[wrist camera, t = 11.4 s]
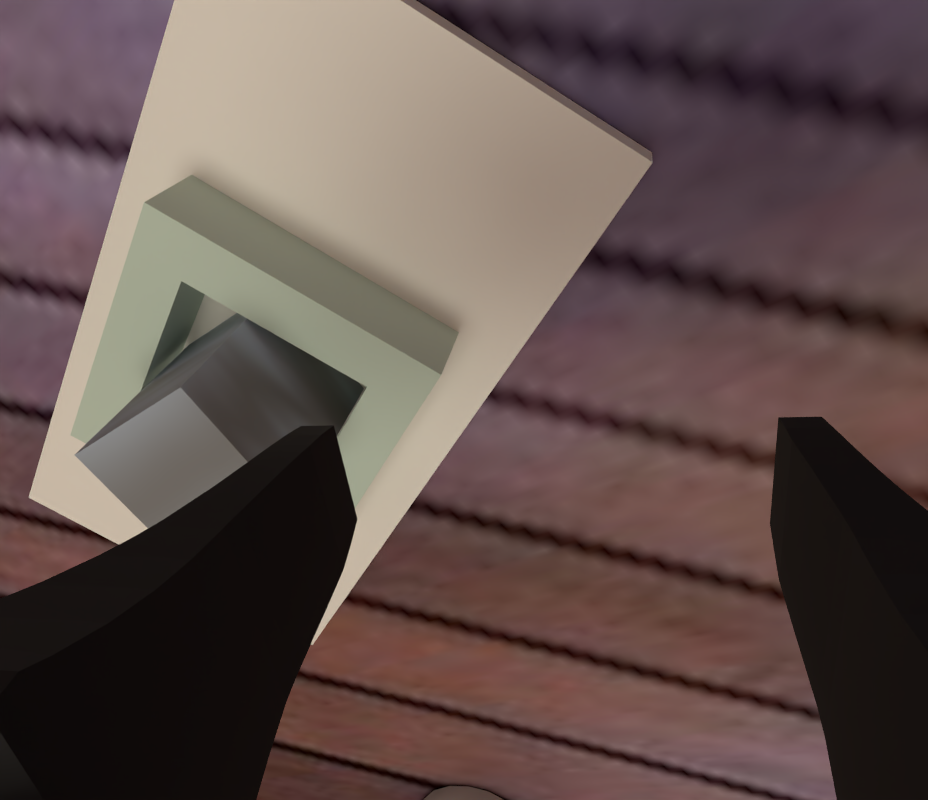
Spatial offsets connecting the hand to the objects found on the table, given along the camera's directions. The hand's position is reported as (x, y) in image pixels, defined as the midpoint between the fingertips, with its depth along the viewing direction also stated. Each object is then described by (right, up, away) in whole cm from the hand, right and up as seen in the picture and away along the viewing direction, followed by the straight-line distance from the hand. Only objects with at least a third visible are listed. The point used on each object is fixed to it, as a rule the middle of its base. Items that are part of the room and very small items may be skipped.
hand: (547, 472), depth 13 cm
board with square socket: (-7, +3, +12) cm, 14 cm away
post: (-7, +2, +11) cm, 14 cm away
